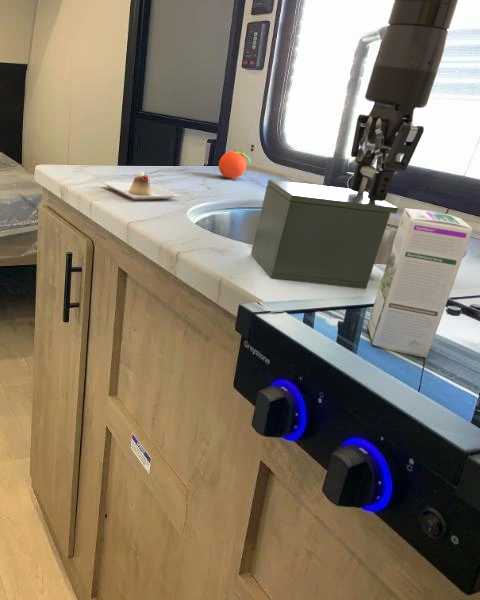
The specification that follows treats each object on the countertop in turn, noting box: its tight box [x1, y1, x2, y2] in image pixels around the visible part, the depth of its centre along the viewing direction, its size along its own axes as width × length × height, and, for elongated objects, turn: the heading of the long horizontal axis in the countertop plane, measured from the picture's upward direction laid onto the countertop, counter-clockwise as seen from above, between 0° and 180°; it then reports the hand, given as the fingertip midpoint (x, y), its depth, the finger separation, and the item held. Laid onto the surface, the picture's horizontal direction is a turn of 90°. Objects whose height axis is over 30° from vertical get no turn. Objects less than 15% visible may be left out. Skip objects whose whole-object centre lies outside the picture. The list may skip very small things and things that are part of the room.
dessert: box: [101, 170, 181, 201], centre depth 123 cm, size 12×12×5 cm
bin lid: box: [267, 164, 399, 214], centre depth 83 cm, size 14×11×5 cm
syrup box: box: [366, 207, 473, 358], centre depth 64 cm, size 6×6×14 cm
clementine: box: [218, 150, 252, 180], centre depth 153 cm, size 8×7×7 cm
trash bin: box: [250, 184, 391, 289], centre depth 86 cm, size 14×11×11 cm
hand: (366, 195), depth 84 cm, fingers closed on bin lid, 5 cm apart
